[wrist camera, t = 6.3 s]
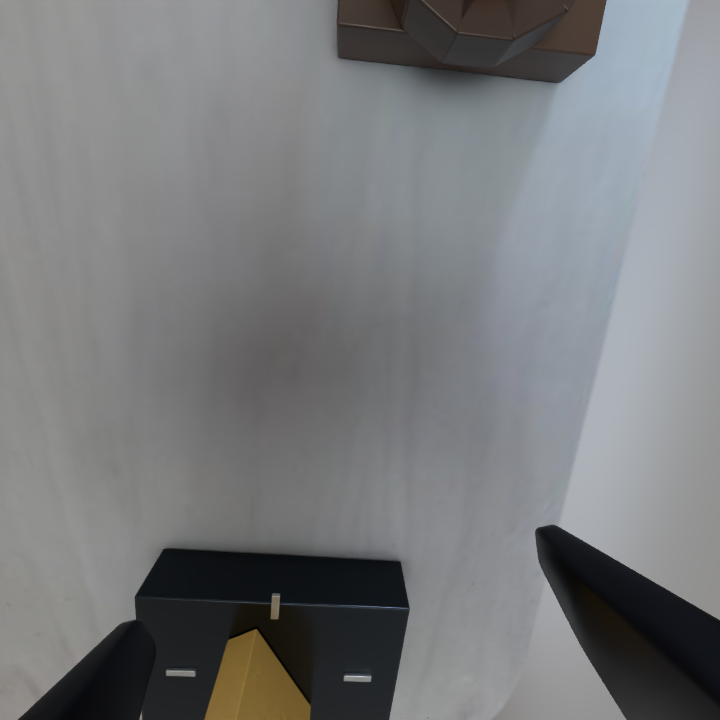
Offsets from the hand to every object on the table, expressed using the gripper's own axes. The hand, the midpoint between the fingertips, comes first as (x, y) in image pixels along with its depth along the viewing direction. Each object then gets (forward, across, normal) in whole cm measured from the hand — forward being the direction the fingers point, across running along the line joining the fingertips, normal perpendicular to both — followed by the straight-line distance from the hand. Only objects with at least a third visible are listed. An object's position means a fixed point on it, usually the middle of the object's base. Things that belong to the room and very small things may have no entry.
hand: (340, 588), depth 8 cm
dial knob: (+7, +7, +12) cm, 16 cm away
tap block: (+10, +7, +12) cm, 17 cm away
